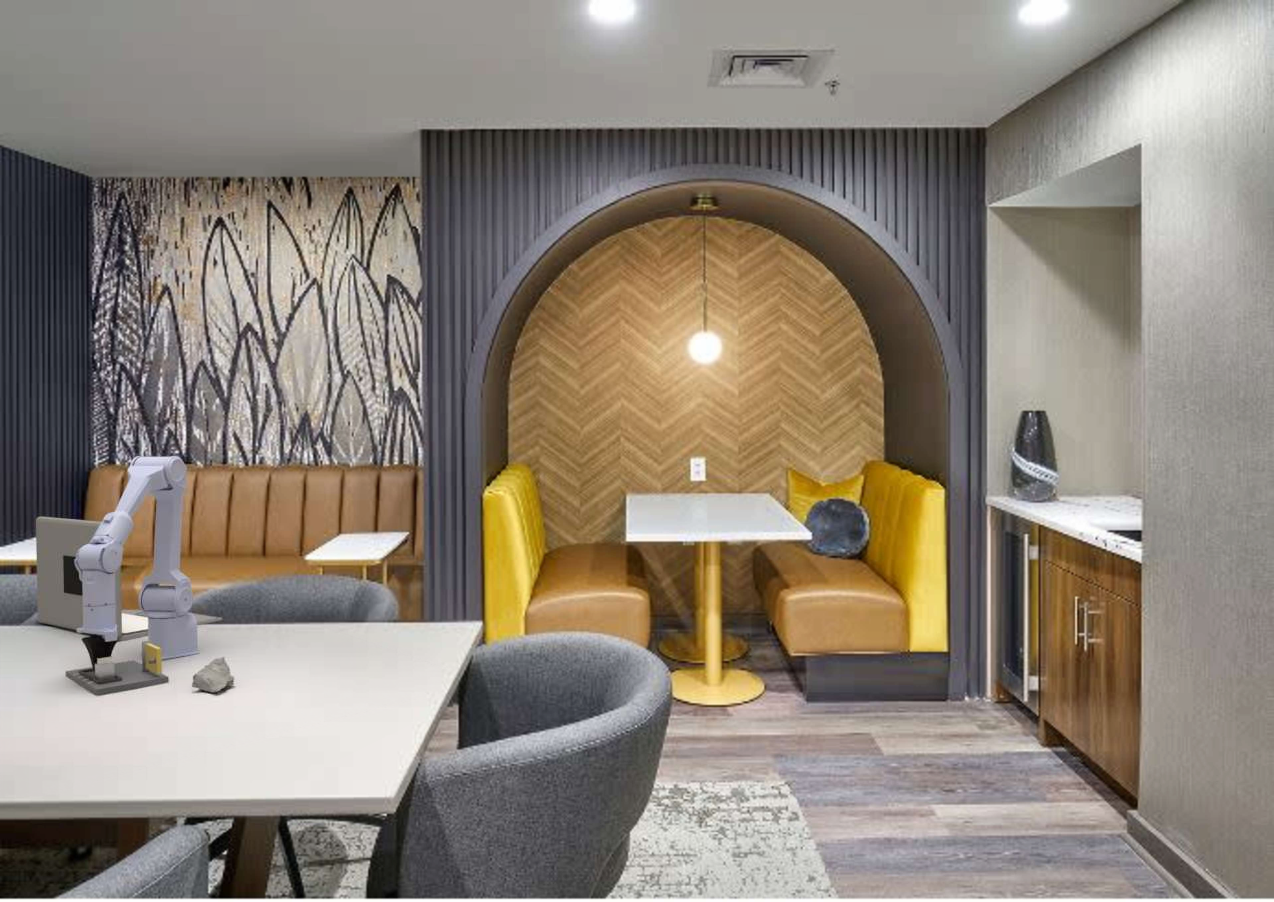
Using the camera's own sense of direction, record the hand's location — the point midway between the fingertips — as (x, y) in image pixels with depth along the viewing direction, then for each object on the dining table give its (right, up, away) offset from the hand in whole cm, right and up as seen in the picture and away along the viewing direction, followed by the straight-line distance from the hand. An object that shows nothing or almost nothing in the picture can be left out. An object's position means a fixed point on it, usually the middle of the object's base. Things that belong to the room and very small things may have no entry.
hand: (100, 672), depth 196 cm
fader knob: (+2, -1, -2) cm, 3 cm away
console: (+2, -2, +3) cm, 4 cm away
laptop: (-21, -2, +53) cm, 58 cm away
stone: (+22, -3, +1) cm, 22 cm away
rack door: (+9, 0, +1) cm, 9 cm away
